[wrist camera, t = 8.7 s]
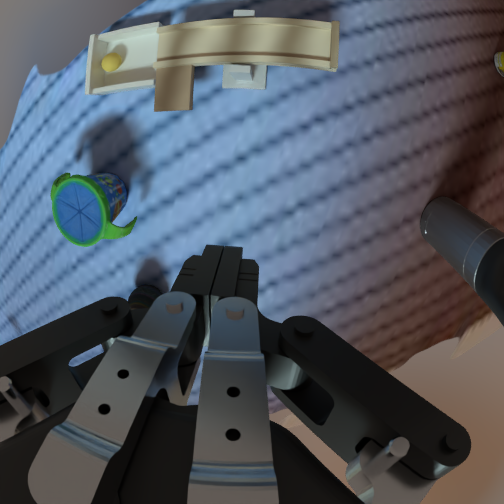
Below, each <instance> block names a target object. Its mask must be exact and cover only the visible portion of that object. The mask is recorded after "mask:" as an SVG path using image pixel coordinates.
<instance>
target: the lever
mask: <svg viewBox="0 0 504 504" xmlns="http://www.w3.org/2000/svg"><path fill="white" fill-rule="evenodd" d="M156 33H158V34H159V41H158V51H157V62H153V68H155V69H156V83H155V104H154V112H159V111H176V110H192V106H193V87H194V71H195V66H206V65H275V66H289V67H301V68H310V69H318V70H326V71H333V72H335V71H336V70H337V68H338V50H339V21H332V23H330V22H322V21H314V20H304V19H290V18H226V19H213V20H203V21H194V22H187V23H180V24H174V25H168V26H163V27H158V28H157V31H156Z"/></svg>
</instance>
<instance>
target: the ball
mask: <svg viewBox="0 0 504 504" xmlns="http://www.w3.org/2000/svg"><path fill="white" fill-rule="evenodd" d="M121 62H122V59H121V56H120V55H119V54H117V53H109V54H107V55H106V56H105V57H104V58H103V59H102V63H101V65H102V68H103V69H104V70H105V71H108V72H112V71H115V70H116V69H118V68H119V67H120V65H121Z"/></svg>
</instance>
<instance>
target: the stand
mask: <svg viewBox="0 0 504 504" xmlns="http://www.w3.org/2000/svg"><path fill="white" fill-rule="evenodd" d="M233 16H234V18H255V10H234V15H233ZM266 70H267V65H224V67H223V82H222V88H239V89H260V90H265V84H266Z"/></svg>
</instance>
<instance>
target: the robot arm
mask: <svg viewBox="0 0 504 504" xmlns="http://www.w3.org/2000/svg"><path fill="white" fill-rule="evenodd" d="M420 228H421V233H422V235H423V237H424V239H425V240H426V241H427V242H428V243H429V244H430V245H431V246H432V247H433V248H434V249H435V250H436V251H437V252H438V253H439V254H440V255H441V256H442V257H443V258H444V259H445V260H446V261H447V262H448V263H449V264H450V265H451V266H452V267H453V268H454V269H455V270H456V271H457V272H458V273H459V274H460V275H461V276H462V277H463V278H464V280H465V281H466V282H467V283H468V284H469V285H470V286H471V287H472V288H473V289H474V290H475V292H476V293H477V294H478V295H479V296H480V297H481V298H482V300H483V301H484V302H485V303H486V304H487V305H488V306H489V308H490V309H491V310H492V311H493V313H494V314H495V315H496V316H497V318H498V319H499V321H500V322H501V324H502V325H503V326H504V233H503V232H501V231H500V230H498V229H497V228H495V227H494V226H493V225H491V224H490V223H488V222H487V221H485V220H484V219H482V218H481V217H479V216H478V215H476V214H475V213H473V212H471V211H470V210H468V209H467V208H465V207H463V206H462V205H460V204H459V203H457V202H455V201H454V200H452V199H450V198H448V197H438V198H436V199H434V200H432V201H431V202H430V203H429V204H428V206H427V207H426V208H425V210H424V212H423V214H422V217H421V223H420ZM242 252H243V247H233V246H225V248H224V246H219V245H206V247H205V249H204V251H203V254H202V256H199V255H193V256H191V257H190V258H188V259H187V260H186V261H185V262H184V264H183V266H182V269H181V270H180V272H179V275H178V276H177V278H176V280H175V282H174V284H173V286H172V288H171V291H170V292H168V293H165V294H162V295H160V296H159V297H158V298H157V299H156V300H155V301H154V303H153V304H152V306H151V307H150V308H143V309H132V310H131V309H130V305H129V303H128V301H127V300H125V299H124V298H121V297H107V298H104V299H101V300H99V301H97V302H94V303H92V304H90V305H88V306H85V307H83V308H81V309H79V310H76V311H74V312H72V313H70V314H68V315H65V316H63V317H61V318H59V319H57V320H54V321H52V322H50V323H48V324H46V325H44V326H41V327H39V328H37V329H35V330H33V331H31V332H28V333H26V334H24V335H22V336H20V337H18V338H15V339H13V340H11V341H9V342H7V343H5V344H3V345H1V346H0V504H419V503H420V502H421V501H422V500H423V498H424V497H425V495H426V494H427V493H428V491H429V490H430V489H431V487H432V486H433V484H434V483H435V482H436V480H438V479H439V478H441V477H442V476H444V475H445V474H447V473H448V472H450V471H451V470H453V469H454V468H455V467H457V466H459V465H460V464H461V463H462V462H464V461H465V460H466V458H467V457H468V455H469V453H470V450H471V439H470V436H469V434H468V432H467V431H466V429H465V428H464V427H463V426H461V425H460V424H459V423H457V422H456V421H454V420H453V419H451V418H450V417H449V416H447V415H446V414H445V413H443V412H442V411H440V410H439V409H437V408H436V407H435V406H433V405H432V404H431V403H429V402H428V401H426V400H425V399H424V398H422V397H421V396H419V395H418V394H417V393H415V392H414V391H412V390H411V389H410V388H408V387H407V386H405V385H404V384H403V383H401V382H400V381H399V380H397V379H396V378H394V377H393V376H392V375H391V374H389V373H388V372H386V371H385V370H384V369H382V368H381V367H380V366H378V365H377V364H376V363H374V362H373V361H372V360H370V359H369V358H367V357H366V356H365V355H363V354H362V353H361V352H359V351H358V350H357V349H355V348H354V347H353V346H351V345H350V344H349V343H347V342H346V341H345V340H343V339H342V338H341V337H339V336H338V335H337V334H335V333H334V332H333V331H331V330H330V329H329V328H327V327H326V326H325V325H323V324H322V323H321V322H319V321H318V320H316V319H314V318H311V317H308V316H293V317H290V318H288V319H286V320H285V321H283V323H278V322H275V321H272V320H270V319H268V318H266V317H265V316H263V315H262V314H261V313H260V311H259V310H258V307H257V299H258V278H259V266H258V264H257V263H256V262H255V260H251V259H242ZM99 344H101V345H102V347H103V350H104V352H103V353H101V354H99V355H97V356H96V357H94V358H92V359H90V360H88V361H86V362H84V363H82V364H80V365H78V366H75V367H71V366H69V365H68V364H69V362H70V360H71V359H72V358H74V357H75V356H77V355H79V354H81V353H83V352H85V351H87V350H89V349H91V348H93V347H95V346H97V345H99ZM203 346H207V347H208V351H207V352H205V354H204V360H203V368H202V377H201V385H200V394H199V403H198V405H189V406H187V401H188V398H189V395H190V392H191V389H192V386H193V383H194V380H195V377H196V374H197V371H198V368H199V366H200V362H201V359H200V355H201V352H202V348H203ZM266 384H267V385H270V387H271V390H272V392H273V393H274V394H275V395H276V396H277V397H278V398H279V399H280V400H281V401H282V402H283V403H284V405H285V406H286V407H287V408H288V409H290V410H291V411H292V412H293V413H294V414H295V415H296V416H297V417H298V418H299V419H300V420H301V421H302V422H303V423H304V424H305V425H306V426H307V427H308V428H309V429H310V430H311V431H312V432H313V433H314V434H315V435H316V436H318V437H319V438H320V439H321V440H322V441H323V442H324V443H325V444H326V445H327V446H328V447H330V448H331V449H332V450H333V451H334V452H335V453H336V454H337V455H339V456H340V457H341V458H342V459H343V460H344V461H345V462H347V463H348V466H347V468H346V479H347V482H348V484H349V485H350V486H351V487H352V488H353V490H354V491H355V493H356V495H355V494H354V493H353V492H352V491H351V490H350V489H348V488H347V487H346V486H345V485H344V484H343V483H342V482H341V481H340V480H339V479H338V478H337V477H336V476H335V475H334V474H333V473H331V472H330V471H329V470H328V469H327V468H326V467H325V466H324V465H323V464H322V463H321V462H320V461H319V460H318V459H317V458H316V457H315V456H314V455H313V454H312V453H311V452H310V451H309V450H308V448H307V447H306V446H305V445H304V444H303V443H302V442H301V441H300V440H299V439H298V438H297V437H296V436H295V435H293V434H292V433H291V432H290V431H289V430H287V429H286V428H284V427H283V426H281V425H279V424H277V423H275V422H273V421H270V420H269V409H268V397H267V385H266Z"/></svg>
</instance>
